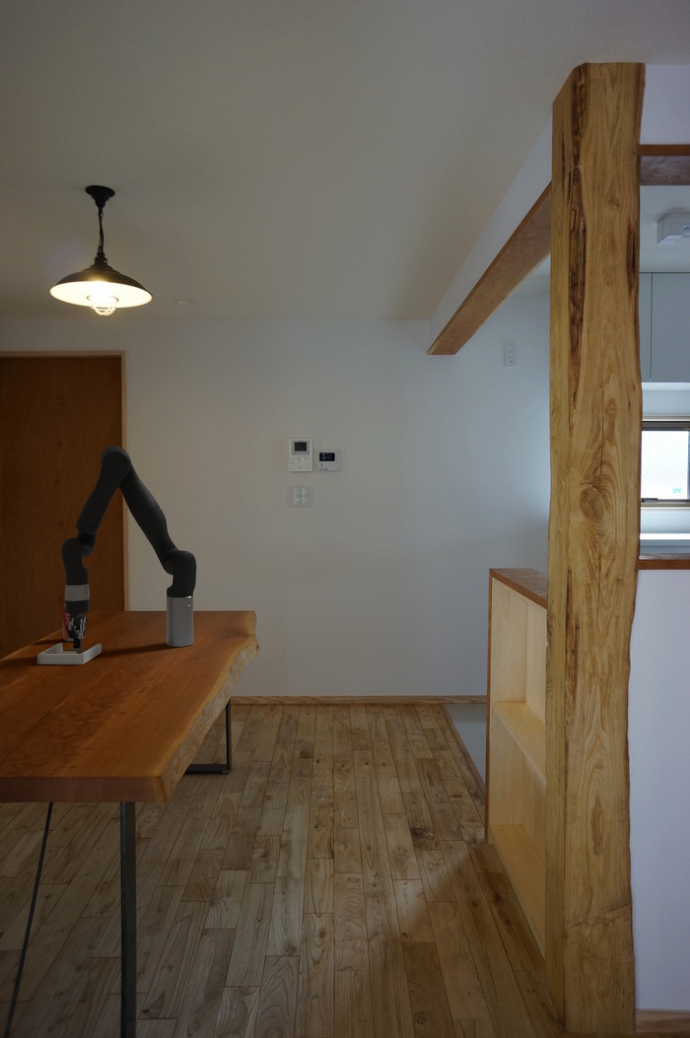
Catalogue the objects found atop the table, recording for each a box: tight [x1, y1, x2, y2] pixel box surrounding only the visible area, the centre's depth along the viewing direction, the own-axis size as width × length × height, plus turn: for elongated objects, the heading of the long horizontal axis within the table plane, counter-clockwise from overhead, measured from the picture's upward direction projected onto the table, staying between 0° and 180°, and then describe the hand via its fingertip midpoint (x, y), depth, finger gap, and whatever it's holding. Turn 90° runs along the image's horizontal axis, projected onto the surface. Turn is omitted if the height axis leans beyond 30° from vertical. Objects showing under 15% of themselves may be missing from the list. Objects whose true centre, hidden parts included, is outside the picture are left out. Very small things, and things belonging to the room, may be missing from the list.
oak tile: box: [57, 651, 76, 654], centre depth 212 cm, size 5×5×2 cm
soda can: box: [62, 603, 85, 642], centre depth 242 cm, size 7×7×13 cm
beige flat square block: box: [62, 647, 85, 654], centre depth 217 cm, size 5×5×2 cm
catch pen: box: [36, 642, 102, 665], centre depth 215 cm, size 16×14×3 cm
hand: (77, 650), depth 221 cm, fingers closed
